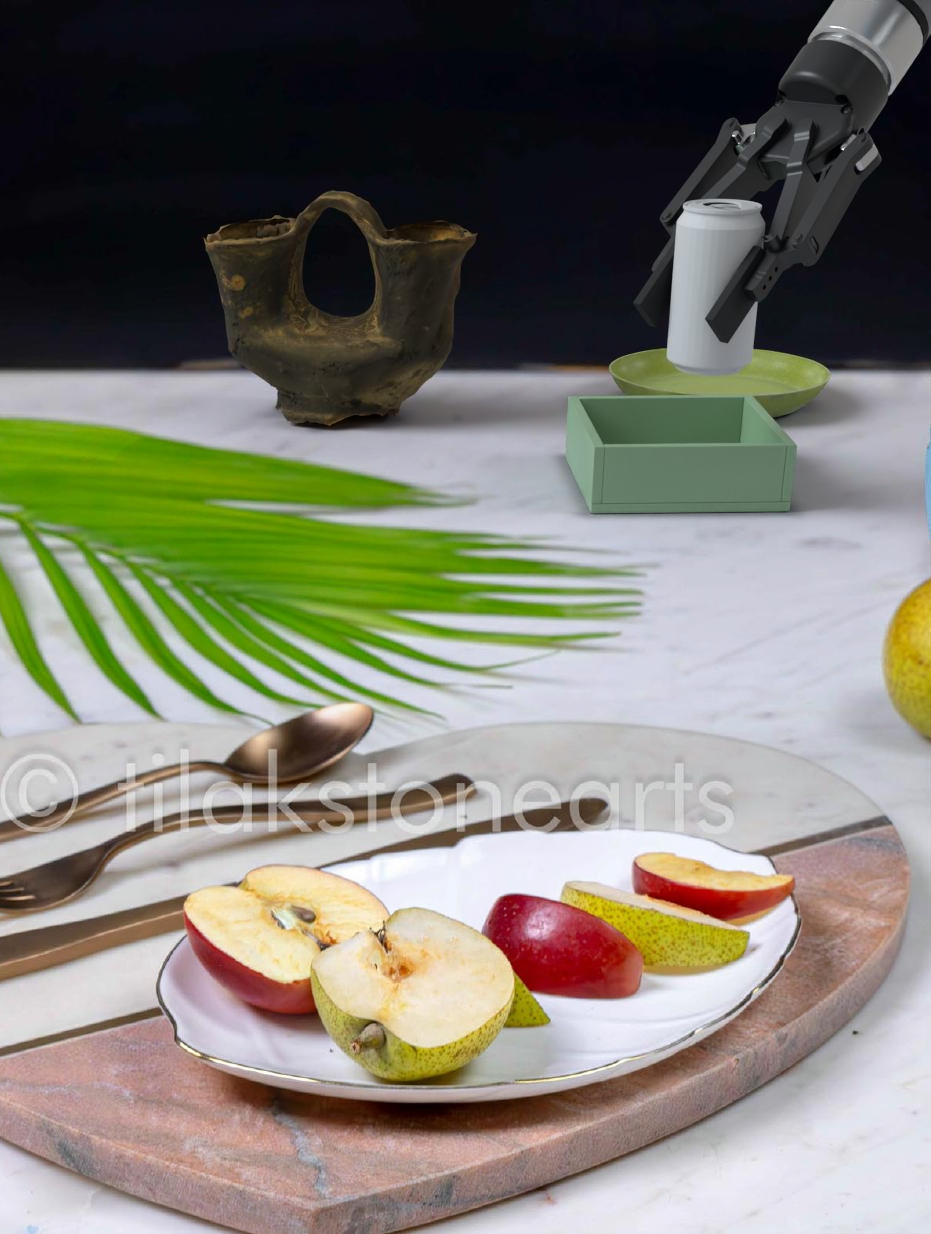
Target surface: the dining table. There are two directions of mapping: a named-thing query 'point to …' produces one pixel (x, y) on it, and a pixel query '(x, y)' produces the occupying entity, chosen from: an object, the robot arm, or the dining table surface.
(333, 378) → the pottery vessel
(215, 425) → the dining table surface
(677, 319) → the beverage can
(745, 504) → the bin
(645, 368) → the saucer
